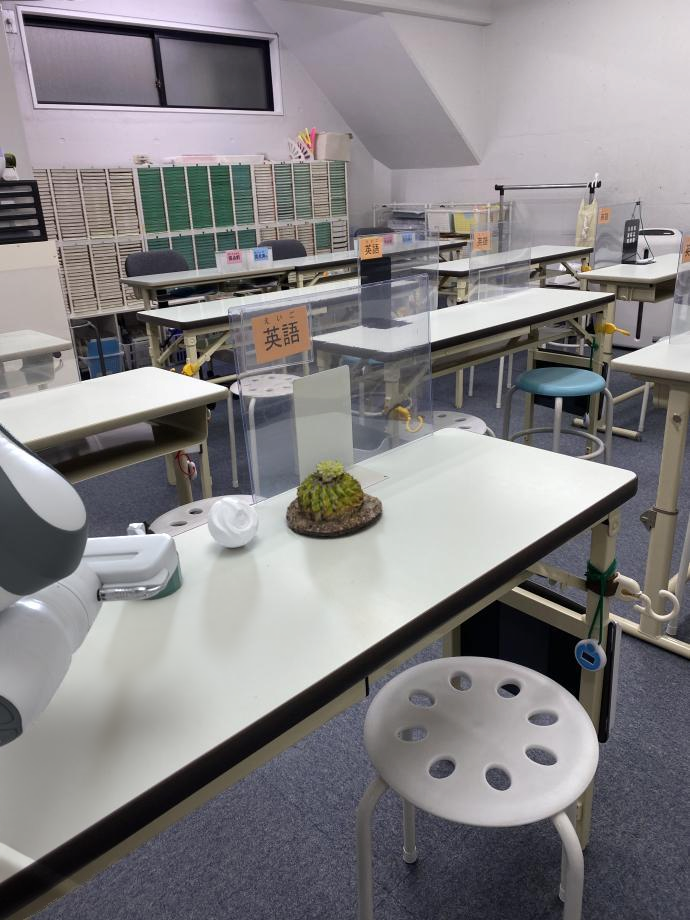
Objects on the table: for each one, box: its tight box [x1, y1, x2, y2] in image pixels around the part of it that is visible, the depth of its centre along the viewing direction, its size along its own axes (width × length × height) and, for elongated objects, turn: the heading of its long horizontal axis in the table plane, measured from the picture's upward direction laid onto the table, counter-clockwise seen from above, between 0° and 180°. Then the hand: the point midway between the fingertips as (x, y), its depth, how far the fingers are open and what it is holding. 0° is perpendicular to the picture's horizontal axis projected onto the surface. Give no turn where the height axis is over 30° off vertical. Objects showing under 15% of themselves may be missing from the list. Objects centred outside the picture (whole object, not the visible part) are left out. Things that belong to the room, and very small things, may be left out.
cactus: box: [285, 459, 383, 537], centre depth 114 cm, size 17×16×10 cm
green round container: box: [143, 551, 183, 601], centre depth 98 cm, size 7×7×4 cm
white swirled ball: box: [206, 496, 259, 549], centre depth 107 cm, size 8×8×8 cm
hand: (96, 531), depth 76 cm, fingers open, 8 cm apart
